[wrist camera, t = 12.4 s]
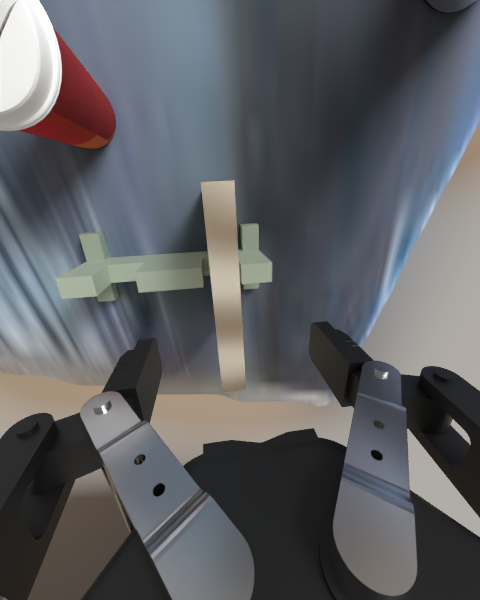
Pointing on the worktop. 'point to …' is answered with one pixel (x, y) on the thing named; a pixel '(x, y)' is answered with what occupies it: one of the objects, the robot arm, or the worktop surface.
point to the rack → (156, 268)
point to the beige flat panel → (225, 280)
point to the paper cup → (47, 82)
